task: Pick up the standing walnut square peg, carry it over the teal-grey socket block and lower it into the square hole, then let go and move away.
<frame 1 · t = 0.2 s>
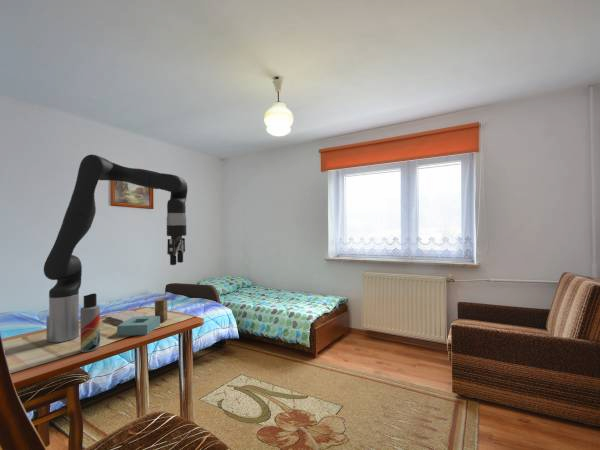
hand: (176, 263, 119), 29 cm above the table, tool pointing down, fingers open, 8 cm apart
socket block: (139, 330, 124), on the table
washcloth: (125, 320, 140), on the table
lotion bottle: (90, 349, 104), on the table
peg: (161, 321, 136), on the table
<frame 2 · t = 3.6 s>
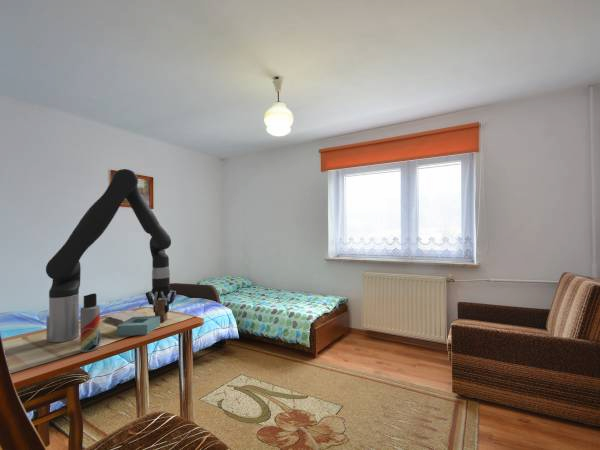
hand: (161, 312, 136), 4 cm above the table, tool pointing down, fingers closed on peg, 4 cm apart
peg: (161, 320, 136), on the table, touching gripper
everything else where it was.
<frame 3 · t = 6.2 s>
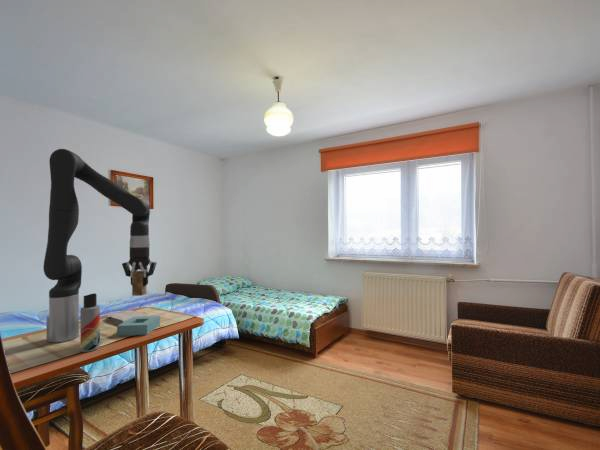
hand: (139, 285, 125), 19 cm above the table, tool pointing down, fingers closed on peg, 4 cm apart
peg: (139, 294, 124), point 15 cm above the table, touching gripper
everything else where it was.
when the fingers open (5 cm above the table, at t = 8.7 s): peg drops 1 cm, resting in socket block.
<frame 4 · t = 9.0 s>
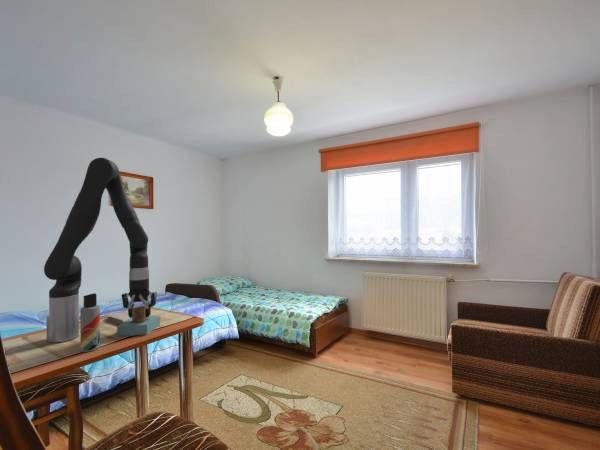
hand: (139, 317, 124), 6 cm above the table, tool pointing down, fingers open, 6 cm apart
peg: (139, 330, 124), resting in socket block
everything else where it was.
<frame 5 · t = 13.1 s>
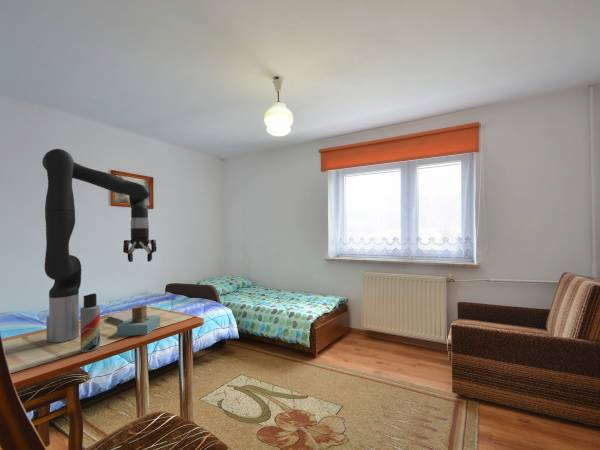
hand: (140, 261, 137), 28 cm above the table, tool pointing down, fingers open, 8 cm apart
nothing on the table moved.
at the end: peg 0.1 cm off-centre on the socket block, point 0.0 cm above the socket block's base; peg tilted 0°; the gripper is holding nothing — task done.
